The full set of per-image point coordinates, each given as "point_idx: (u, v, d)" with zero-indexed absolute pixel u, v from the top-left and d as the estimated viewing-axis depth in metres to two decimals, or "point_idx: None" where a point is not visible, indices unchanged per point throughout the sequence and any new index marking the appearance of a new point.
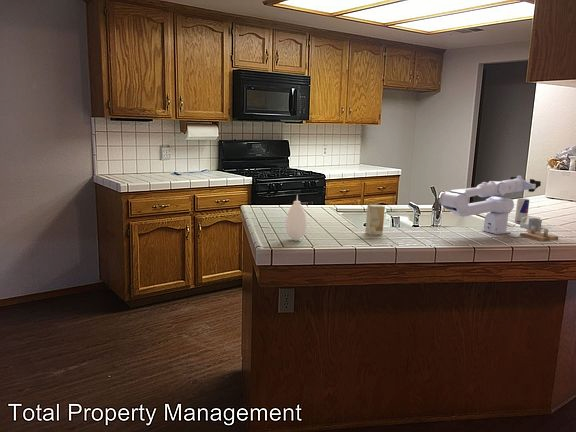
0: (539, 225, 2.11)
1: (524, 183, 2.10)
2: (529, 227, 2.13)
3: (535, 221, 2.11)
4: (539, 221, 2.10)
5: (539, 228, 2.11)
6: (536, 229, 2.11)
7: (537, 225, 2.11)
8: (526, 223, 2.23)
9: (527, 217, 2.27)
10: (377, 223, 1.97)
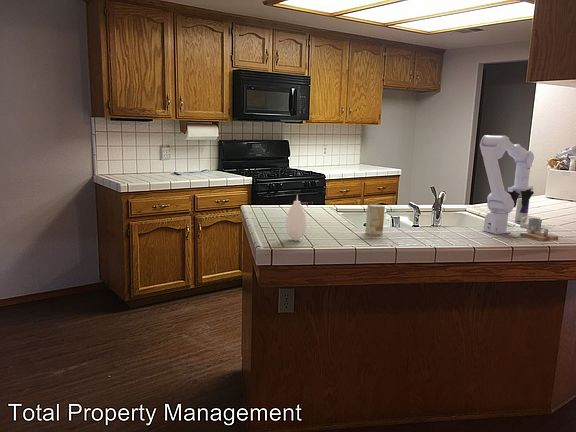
0: (539, 225, 2.11)
1: None
2: (529, 227, 2.13)
3: (535, 221, 2.11)
4: (539, 221, 2.10)
5: (539, 228, 2.11)
6: (536, 229, 2.11)
7: (537, 225, 2.11)
8: (526, 223, 2.23)
9: (527, 217, 2.27)
10: (377, 223, 1.97)
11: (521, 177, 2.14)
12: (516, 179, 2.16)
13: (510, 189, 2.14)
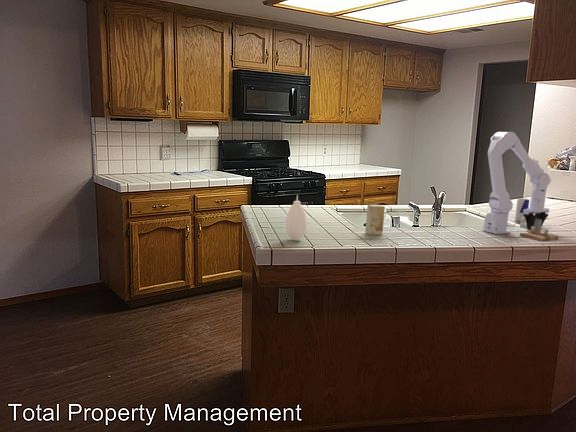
0: (539, 225, 2.11)
1: None
2: None
3: (535, 221, 2.11)
4: (539, 221, 2.10)
5: (539, 228, 2.11)
6: (536, 229, 2.11)
7: (537, 225, 2.11)
8: (526, 223, 2.23)
9: None
10: (377, 223, 1.97)
11: (537, 199, 2.09)
12: (531, 201, 2.11)
13: (525, 211, 2.09)
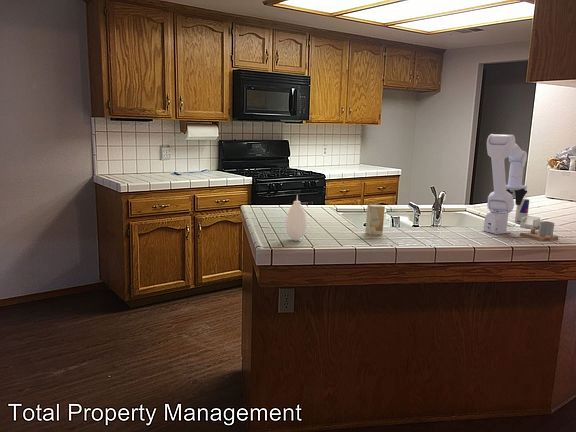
0: (548, 229, 1.97)
1: None
2: (539, 230, 2.01)
3: (543, 224, 1.98)
4: (548, 224, 1.97)
5: (548, 232, 1.97)
6: (544, 233, 1.98)
7: (545, 228, 1.97)
8: (526, 223, 2.23)
9: (527, 217, 2.27)
10: (377, 223, 1.97)
11: (514, 176, 2.17)
12: (509, 178, 2.20)
13: None
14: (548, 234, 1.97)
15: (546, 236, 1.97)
